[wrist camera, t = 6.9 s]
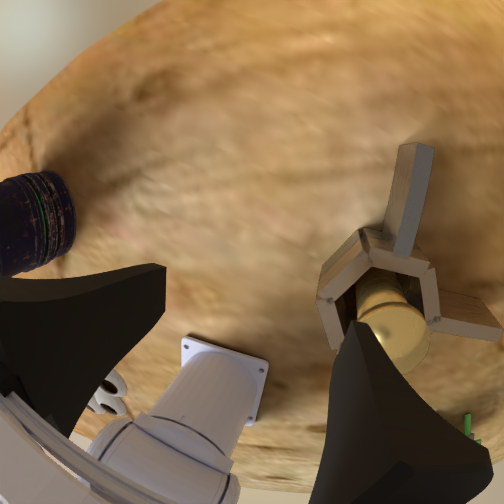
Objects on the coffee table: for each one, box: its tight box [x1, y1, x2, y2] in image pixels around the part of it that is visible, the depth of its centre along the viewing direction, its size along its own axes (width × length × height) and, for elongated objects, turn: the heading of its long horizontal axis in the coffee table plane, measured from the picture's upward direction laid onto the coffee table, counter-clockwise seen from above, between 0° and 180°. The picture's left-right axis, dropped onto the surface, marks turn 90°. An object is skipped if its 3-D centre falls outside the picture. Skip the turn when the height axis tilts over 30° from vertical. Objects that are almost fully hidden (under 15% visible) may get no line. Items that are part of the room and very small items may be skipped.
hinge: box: [315, 143, 504, 355], centre depth 16 cm, size 13×13×4 cm
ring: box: [86, 369, 127, 416], centre depth 34 cm, size 20×20×2 cm
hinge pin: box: [355, 266, 430, 375], centre depth 16 cm, size 4×4×8 cm
